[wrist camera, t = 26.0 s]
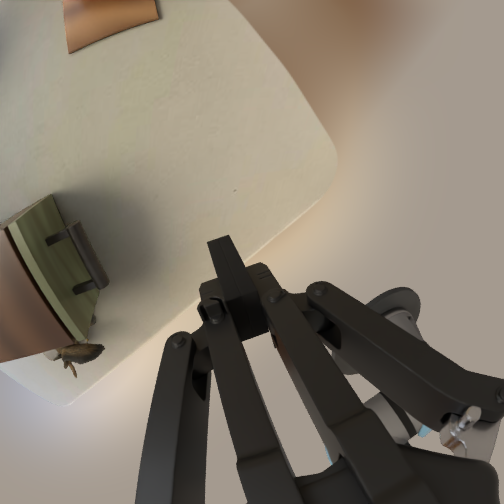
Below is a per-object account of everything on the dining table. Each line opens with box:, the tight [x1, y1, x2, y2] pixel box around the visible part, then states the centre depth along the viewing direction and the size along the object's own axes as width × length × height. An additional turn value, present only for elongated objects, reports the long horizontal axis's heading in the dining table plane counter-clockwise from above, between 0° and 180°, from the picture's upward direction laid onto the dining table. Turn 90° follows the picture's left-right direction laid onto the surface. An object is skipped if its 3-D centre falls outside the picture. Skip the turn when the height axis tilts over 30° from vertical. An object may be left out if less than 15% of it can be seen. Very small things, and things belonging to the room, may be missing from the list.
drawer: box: [8, 194, 110, 341], centre depth 22 cm, size 22×14×9 cm, turn 103°
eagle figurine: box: [43, 315, 105, 378], centre depth 29 cm, size 8×7×9 cm
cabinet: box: [0, 199, 76, 363], centre depth 21 cm, size 18×14×9 cm
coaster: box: [63, 0, 159, 54], centre depth 15 cm, size 10×10×1 cm
